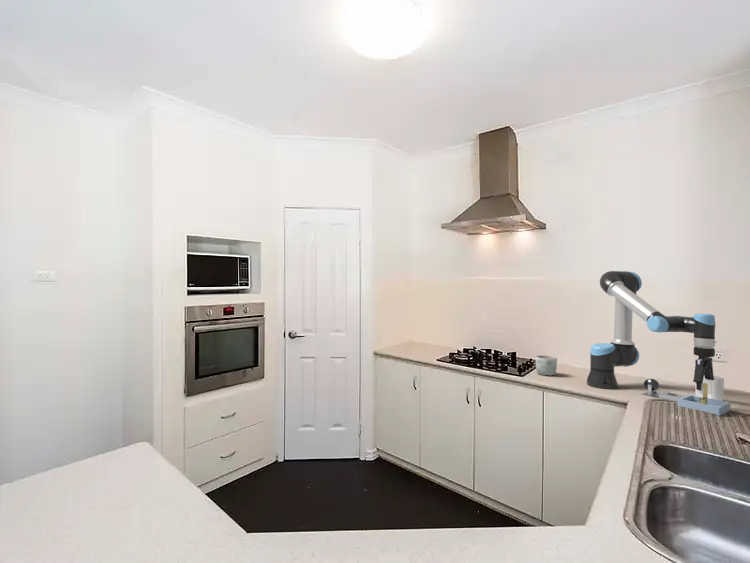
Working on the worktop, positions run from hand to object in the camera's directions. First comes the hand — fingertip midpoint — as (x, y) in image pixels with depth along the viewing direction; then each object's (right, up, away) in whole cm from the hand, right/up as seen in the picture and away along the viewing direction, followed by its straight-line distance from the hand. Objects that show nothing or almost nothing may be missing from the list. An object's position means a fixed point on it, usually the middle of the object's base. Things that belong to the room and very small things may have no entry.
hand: (703, 395), depth 180 cm
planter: (-44, -6, +65) cm, 79 cm away
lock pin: (0, -5, 0) cm, 5 cm away
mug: (+16, -7, +14) cm, 22 cm away
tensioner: (-6, -6, +16) cm, 18 cm away
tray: (0, -6, 0) cm, 6 cm away
